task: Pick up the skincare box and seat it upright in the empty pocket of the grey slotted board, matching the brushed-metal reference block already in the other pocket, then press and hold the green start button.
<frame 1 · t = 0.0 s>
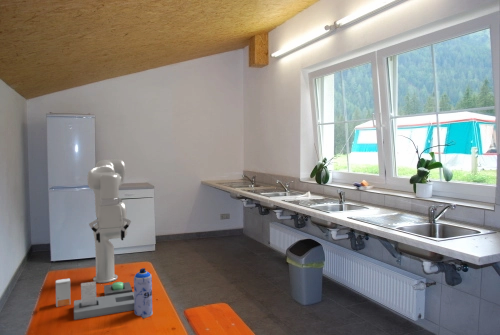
hand: (110, 240, 173), 31 cm above the table, fingers open, 9 cm apart
aerosol can: (143, 314, 171), on the table
reference block: (89, 310, 172), point 1 cm above the table, touching grey slotted board
button housing: (118, 295, 192), on the table
start button: (117, 287, 192), point 4 cm above the table, slide at 0.0 cm
skincare box: (63, 306, 180), on the table
grey slotted board: (107, 310, 175), on the table
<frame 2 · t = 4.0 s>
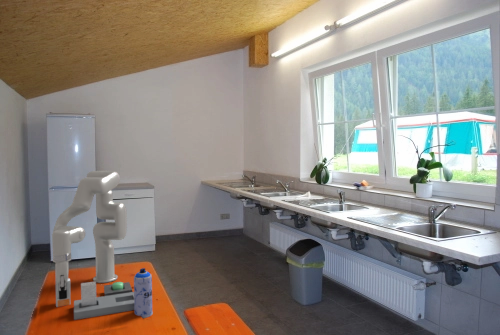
hand: (63, 296, 179), 5 cm above the table, fingers closed on skincare box, 4 cm apart
skincare box: (63, 306, 180), on the table, touching gripper
everything else where it was.
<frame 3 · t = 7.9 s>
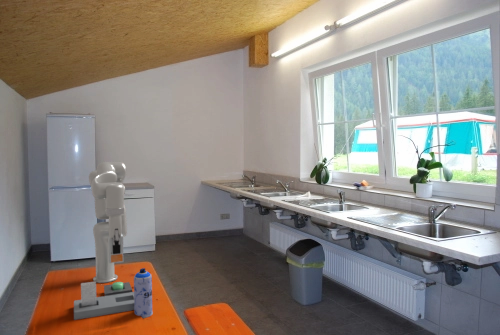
hand: (116, 251, 177), 25 cm above the table, fingers closed on skincare box, 4 cm apart
skincare box: (116, 262, 177), point 21 cm above the table, touching gripper
everything else where it was.
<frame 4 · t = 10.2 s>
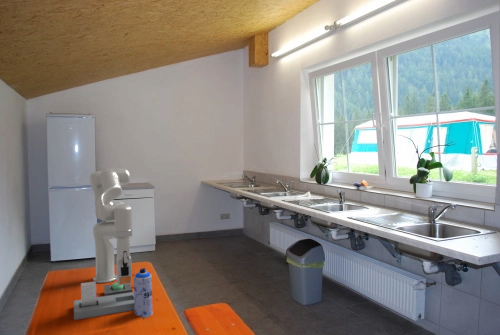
hand: (124, 273, 177), 16 cm above the table, fingers closed on skincare box, 4 cm apart
skincare box: (124, 284, 177), point 11 cm above the table, touching gripper
everything else where it was.
when the fingers open (7 cm above the table, at t = 12.2 s): skincare box drops 1 cm, resting on grey slotted board.
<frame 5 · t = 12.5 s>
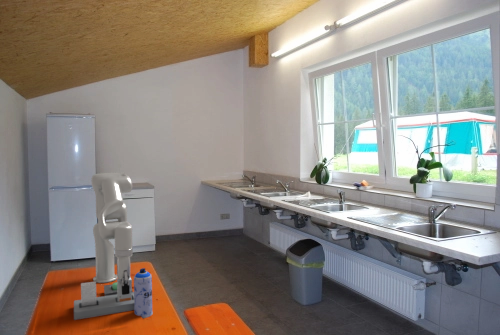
hand: (124, 290, 178), 8 cm above the table, fingers open, 7 cm apart
skincare box: (124, 305, 178), point 1 cm above the table, touching grey slotted board
everything else where it was.
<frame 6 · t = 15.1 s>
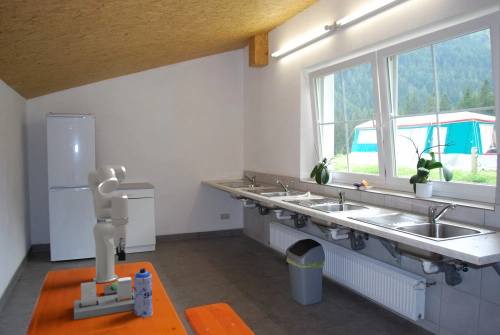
hand: (120, 257, 183), 21 cm above the table, fingers open, 9 cm apart
nothing on the table moved.
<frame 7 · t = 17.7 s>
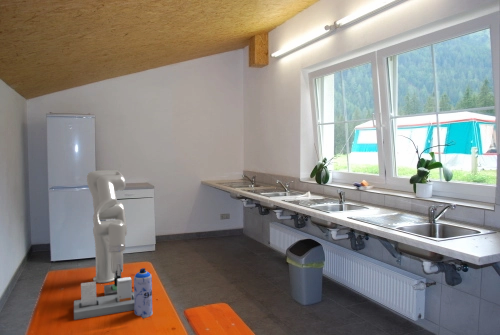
hand: (118, 285, 191), 5 cm above the table, fingers closed
start button: (117, 289, 192), point 3 cm above the table, slide at 0.8 cm, touching gripper
everything else where it was.
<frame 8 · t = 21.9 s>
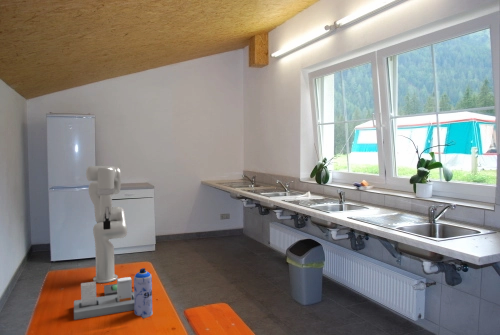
hand: (106, 228, 194), 32 cm above the table, fingers closed
start button: (117, 289, 192), point 3 cm above the table, slide at 1.2 cm
everything else where it was.
at the end: skincare box 0.3 cm from the target spot on the grey slotted board, point 0.8 cm above the grey slotted board's base; skincare box tilted 0°; start button slide at 1.2 cm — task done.
